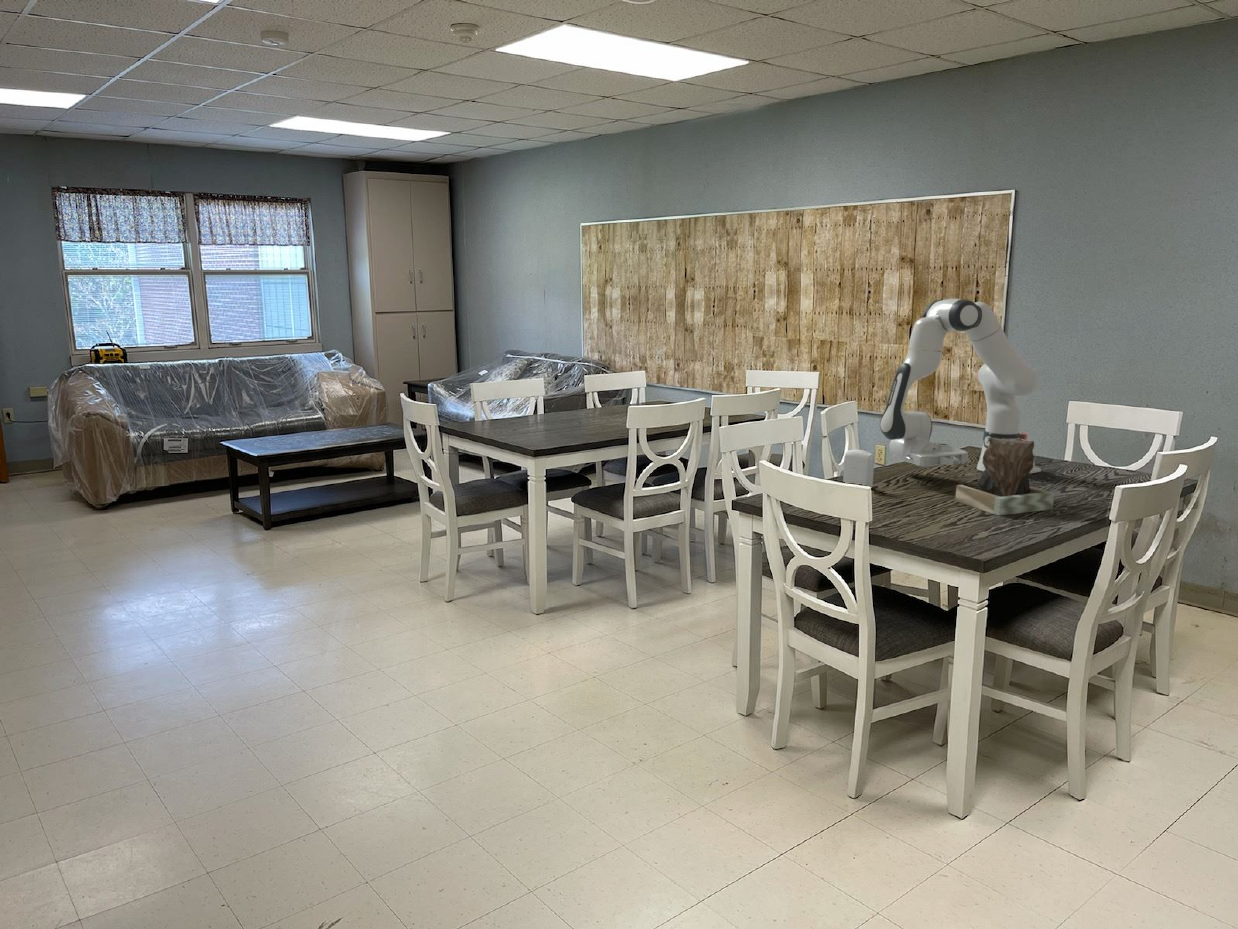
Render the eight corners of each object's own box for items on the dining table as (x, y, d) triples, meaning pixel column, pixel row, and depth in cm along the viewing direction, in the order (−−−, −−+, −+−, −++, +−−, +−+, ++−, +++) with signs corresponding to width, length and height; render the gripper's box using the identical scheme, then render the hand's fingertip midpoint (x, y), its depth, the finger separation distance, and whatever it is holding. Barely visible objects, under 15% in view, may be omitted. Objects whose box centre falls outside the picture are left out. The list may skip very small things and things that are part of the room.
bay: (1006, 495, 287) (1008, 480, 286) (1052, 509, 270) (1054, 493, 269) (955, 500, 279) (956, 485, 278) (998, 515, 263) (1000, 498, 262)
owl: (973, 500, 280) (980, 437, 276) (1003, 496, 286) (1009, 434, 281) (1006, 509, 269) (1013, 444, 265) (1036, 505, 275) (1043, 441, 270)
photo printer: (840, 484, 299) (843, 448, 296) (848, 483, 301) (851, 447, 299) (866, 490, 291) (869, 453, 288) (874, 488, 294) (877, 451, 291)
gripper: (902, 447, 300) (931, 455, 288) (951, 443, 308) (980, 451, 295) (901, 465, 302) (929, 474, 289) (949, 461, 309) (979, 469, 297)
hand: (955, 462), depth 292 cm, fingers closed
